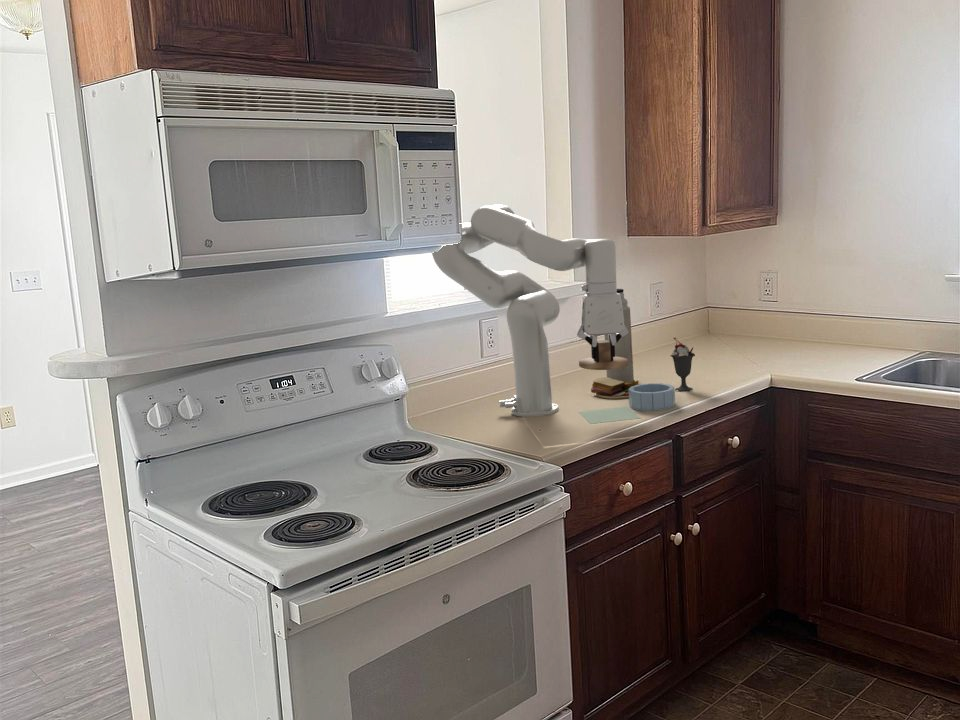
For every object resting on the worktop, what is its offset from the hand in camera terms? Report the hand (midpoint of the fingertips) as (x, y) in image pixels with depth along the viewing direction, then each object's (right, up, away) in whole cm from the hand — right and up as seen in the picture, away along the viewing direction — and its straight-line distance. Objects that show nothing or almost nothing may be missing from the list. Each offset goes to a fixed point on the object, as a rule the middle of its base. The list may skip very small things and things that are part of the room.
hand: (603, 360), depth 225 cm
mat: (+2, -14, +2) cm, 15 cm away
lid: (0, -1, 0) cm, 1 cm away
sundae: (+26, -9, +25) cm, 37 cm away
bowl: (+14, -12, +9) cm, 21 cm away
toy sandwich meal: (+7, -10, +24) cm, 27 cm away
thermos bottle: (+11, -7, +42) cm, 44 cm away
